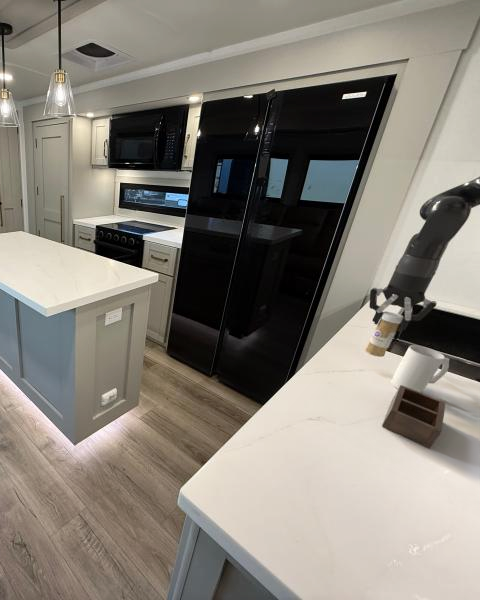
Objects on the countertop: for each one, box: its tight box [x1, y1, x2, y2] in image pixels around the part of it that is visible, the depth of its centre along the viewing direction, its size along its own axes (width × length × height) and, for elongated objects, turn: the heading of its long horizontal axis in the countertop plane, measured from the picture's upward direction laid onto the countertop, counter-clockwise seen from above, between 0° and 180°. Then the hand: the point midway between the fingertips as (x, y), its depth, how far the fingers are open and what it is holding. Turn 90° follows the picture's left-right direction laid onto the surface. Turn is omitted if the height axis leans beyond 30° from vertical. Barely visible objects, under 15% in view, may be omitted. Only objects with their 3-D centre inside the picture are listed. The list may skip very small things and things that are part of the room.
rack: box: [381, 385, 446, 449], centre depth 74 cm, size 8×15×5 cm, turn 130°
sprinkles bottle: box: [365, 311, 405, 358], centre depth 92 cm, size 5×5×14 cm
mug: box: [390, 344, 451, 393], centre depth 84 cm, size 10×7×12 cm, turn 78°
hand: (387, 326), depth 91 cm, fingers closed on sprinkles bottle, 4 cm apart
